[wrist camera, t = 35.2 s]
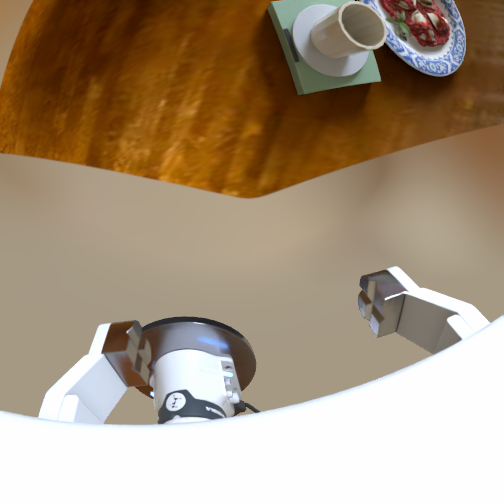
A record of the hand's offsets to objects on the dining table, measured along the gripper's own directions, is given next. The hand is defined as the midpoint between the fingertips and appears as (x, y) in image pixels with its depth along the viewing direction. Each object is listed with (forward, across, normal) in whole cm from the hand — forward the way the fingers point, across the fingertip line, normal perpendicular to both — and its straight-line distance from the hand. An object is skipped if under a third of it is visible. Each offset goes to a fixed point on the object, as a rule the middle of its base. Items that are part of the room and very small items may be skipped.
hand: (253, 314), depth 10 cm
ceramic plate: (+32, +36, +25) cm, 54 cm away
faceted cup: (+28, +17, +16) cm, 36 cm away
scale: (+31, +17, +16) cm, 39 cm away
